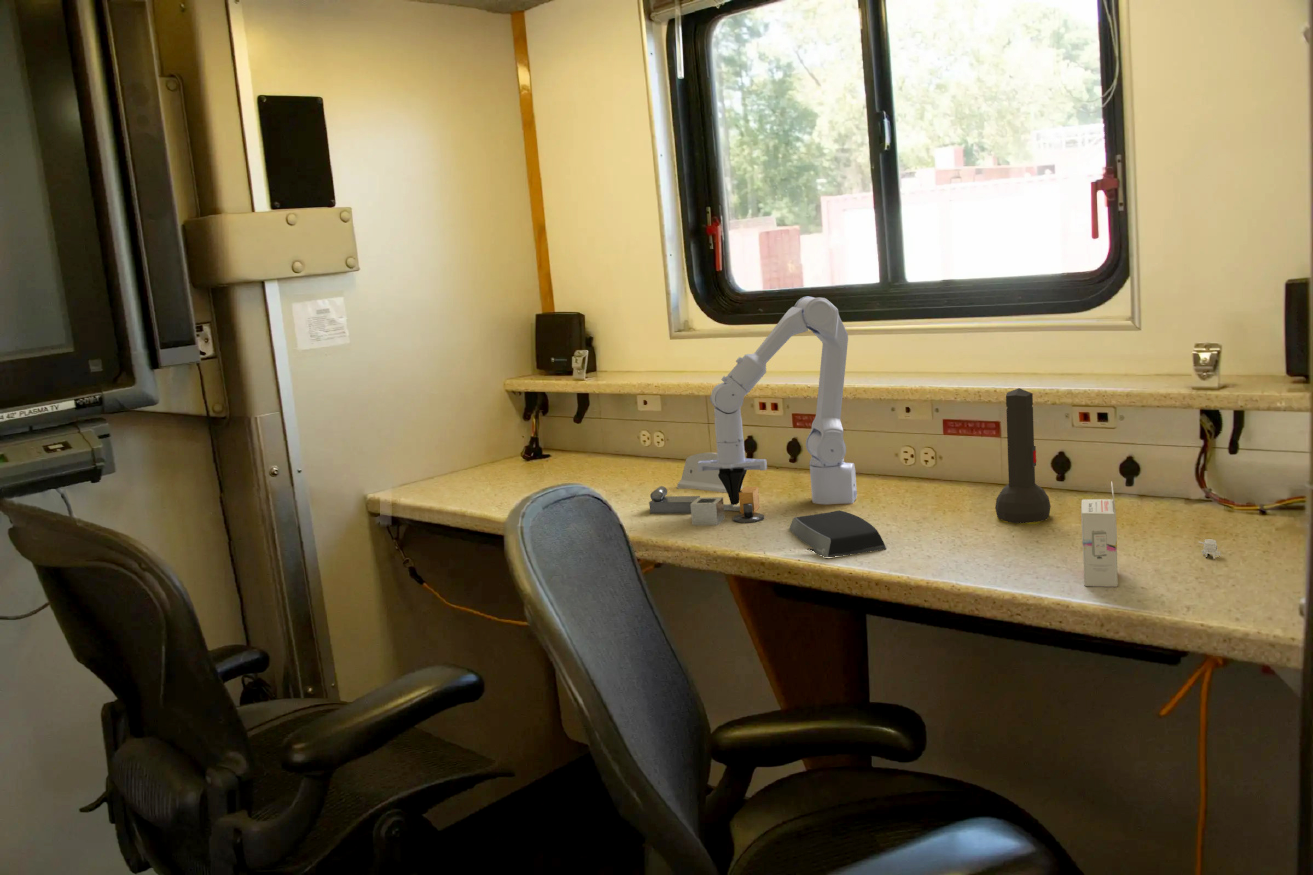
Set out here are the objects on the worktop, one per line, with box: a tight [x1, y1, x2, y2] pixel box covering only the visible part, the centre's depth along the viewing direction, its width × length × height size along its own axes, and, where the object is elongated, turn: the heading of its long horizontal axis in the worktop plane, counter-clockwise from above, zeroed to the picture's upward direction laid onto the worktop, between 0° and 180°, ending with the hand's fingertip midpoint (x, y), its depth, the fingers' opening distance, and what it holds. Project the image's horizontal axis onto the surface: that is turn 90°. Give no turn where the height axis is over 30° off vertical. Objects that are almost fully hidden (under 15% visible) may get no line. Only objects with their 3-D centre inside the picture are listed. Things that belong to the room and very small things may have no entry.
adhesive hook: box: [1198, 538, 1221, 559], centre depth 166 cm, size 3×3×3 cm
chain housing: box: [648, 485, 701, 515], centre depth 224 cm, size 10×5×5 cm, turn 71°
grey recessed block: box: [690, 496, 726, 526], centre depth 212 cm, size 5×5×4 cm
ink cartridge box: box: [1080, 480, 1119, 588], centre depth 160 cm, size 9×5×15 cm, turn 158°
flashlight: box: [994, 387, 1052, 524], centre depth 196 cm, size 10×25×10 cm
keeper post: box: [732, 503, 765, 524], centre depth 212 cm, size 6×6×3 cm
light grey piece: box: [676, 452, 744, 494], centre depth 244 cm, size 17×5×10 cm, turn 46°
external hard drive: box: [788, 510, 887, 557], centre depth 194 cm, size 13×19×4 cm
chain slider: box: [723, 486, 761, 514], centre depth 221 cm, size 18×5×4 cm, turn 71°
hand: (735, 503), depth 219 cm, fingers closed
